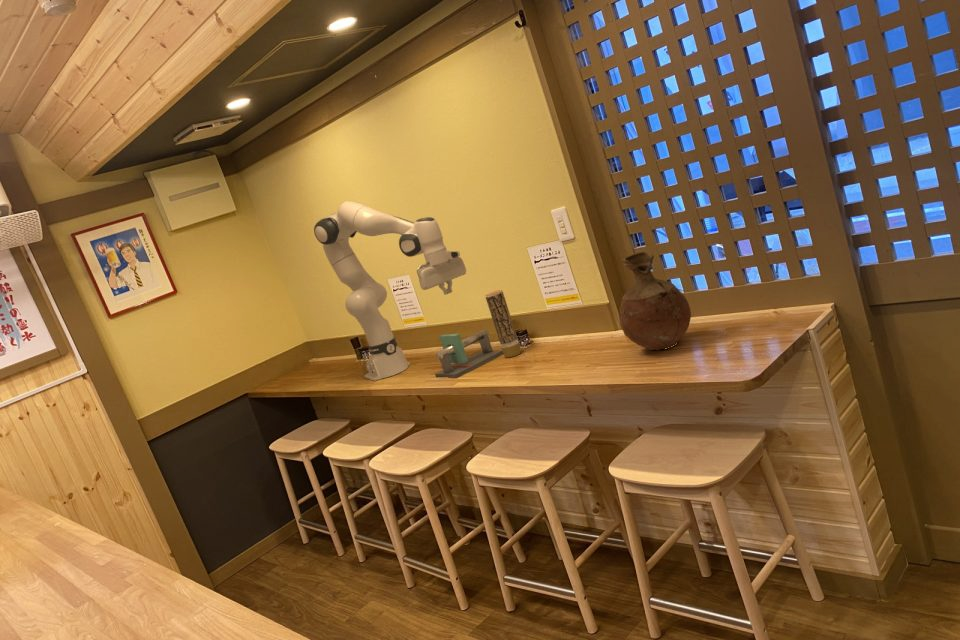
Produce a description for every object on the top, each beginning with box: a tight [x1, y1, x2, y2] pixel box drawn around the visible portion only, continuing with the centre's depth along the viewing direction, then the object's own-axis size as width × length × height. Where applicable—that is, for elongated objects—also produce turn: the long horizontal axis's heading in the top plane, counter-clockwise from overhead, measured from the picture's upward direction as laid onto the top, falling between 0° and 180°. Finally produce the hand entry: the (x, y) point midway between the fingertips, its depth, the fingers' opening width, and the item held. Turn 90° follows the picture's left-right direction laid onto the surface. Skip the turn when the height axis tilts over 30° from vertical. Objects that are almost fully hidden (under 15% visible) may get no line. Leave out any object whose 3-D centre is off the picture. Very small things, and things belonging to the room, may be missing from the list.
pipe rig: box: [436, 328, 494, 373], centre depth 280 cm, size 4×24×9 cm, turn 128°
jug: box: [619, 251, 692, 351], centre depth 224 cm, size 22×22×30 cm
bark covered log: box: [484, 289, 522, 359], centre depth 273 cm, size 7×7×25 cm
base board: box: [434, 349, 504, 379], centre depth 280 cm, size 14×24×2 cm, turn 128°
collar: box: [438, 333, 468, 364], centre depth 276 cm, size 11×2×11 cm, turn 38°
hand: (448, 293), depth 277 cm, fingers closed
